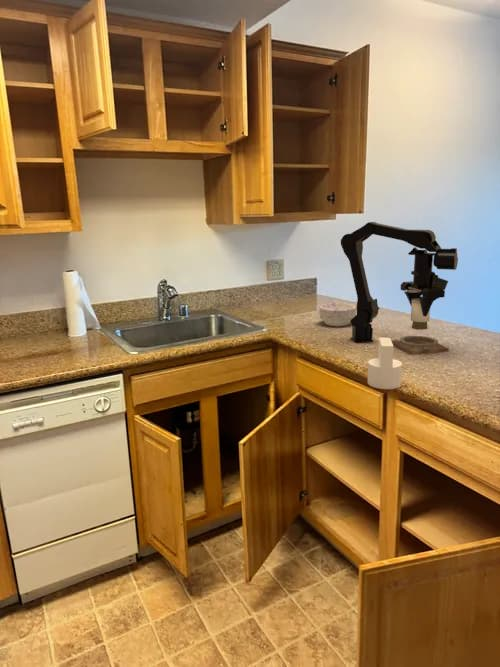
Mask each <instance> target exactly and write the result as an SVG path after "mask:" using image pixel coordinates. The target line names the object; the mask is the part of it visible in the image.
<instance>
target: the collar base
mask: <svg viewBox="0 0 500 667" xmlns="http://www.w3.org/2000/svg"><path fill="white" fill-rule="evenodd" d="M391 341H392V344H393V347H396V348H397V349H399V350H400V351H403V352H404V353H406V354H408V355H419V354H421V355H422V354H432V353H445V352H449V349H450V348H449V347H446V346H444V345H442V344H441V343H439V340H438V339H437V338H434V337H430V336H426V335H425V336H423V335H406V336H403V337H400V338H399V339H398V340H391Z"/></svg>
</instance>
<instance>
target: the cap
mask: <svg viewBox="0 0 500 667" xmlns="http://www.w3.org/2000/svg"><path fill="white" fill-rule="evenodd" d="M410 308H411V310H410V321H411V322H413V321H414V322H427V323H428V322H429V321H430V318H431V317H430V314H431V309H430V310H429V312H428V314H427V316H423V313H422V309H421V304H420V300H419V298H417V299H412V305H410Z"/></svg>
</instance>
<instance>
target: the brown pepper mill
mask: <svg viewBox="0 0 500 667" xmlns="http://www.w3.org/2000/svg"><path fill="white" fill-rule="evenodd" d="M411 328H412V329H413V330H427V329H428V322H414V321H412V325H411Z"/></svg>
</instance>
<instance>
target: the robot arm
mask: <svg viewBox="0 0 500 667" xmlns="http://www.w3.org/2000/svg"><path fill="white" fill-rule="evenodd" d="M373 235H375V236H379V237H380V236H381V237H385V238H388V239H394V240H398V241H403V242H405V243H407V244H409V245H411V246H413V248H412V249H411V250H410V251H409V252H408V253H407V254H408V255H409V256H414V262H413V270H411V271H410V272H411V273H410V274H411V275H412V276H413V278H412V279H413V280H411V281H403V282H402V283H401V284H400V291H403V292H404V294H405V295H406V298H407V300H408V302H409V305H410V306H411V305H412V299H417V298H419V300H420V304H421V309H422V313H423V316H427V314H428V312H429V310H430V311H431V307H432V305H433V302H435V301H436V300H437V299H440V298H445V295H446V291H445V290H446V288H447V285H448V283H449V281H448V280H446V279H443V278H440V277H439V275H437V274H436V273H435V271H433V266H434V267H436V269H437V270H449V271H450V270H452V271H456V270H457V268H458V262H459V257H458V249H457V248H455V247H451V248H442V247H441V246H440V244H439V243H438V241H437V240H436V238H437V237H436V234H435V232H434V231H433V230H431V229H406V228H403V227H397V226H392V225H387V224H382V223H378V222H376V221H368V222H366V223H365V224H364V225H363V226H361V227H359V228H358V229H356V230H354V231H352V232H351V233H345V234H344V235H343V236H342V238H341V239H340V245H341V248H342V251H343V253H344V255H345V257H347V260H348V261H349V265H350V270H351V274H352V279H353V284H354V289H355V293H356V298H357V300H356V316H355V317H354V318H353V319H351V320H350V321H351V322H350V324H351V336H350V337H349V340H352V341H353V342H355V343H357V344H359V343H372V342H374V340H373V330H374V328H373V327H372V326H373V325H372V323H373V321H374V319H376V318H377V316H379V315H378V314H379V310H380V307H379V305H378V299H377V298H373V296H372V295H371V294H370V288H369V284H368V279H367V275H366V270H365V266H364V262H363V249H364V247H363V246H364V245H363V244H364V242H365V241H366V240H368V239H369V238H370V237H371V236H373Z"/></svg>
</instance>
